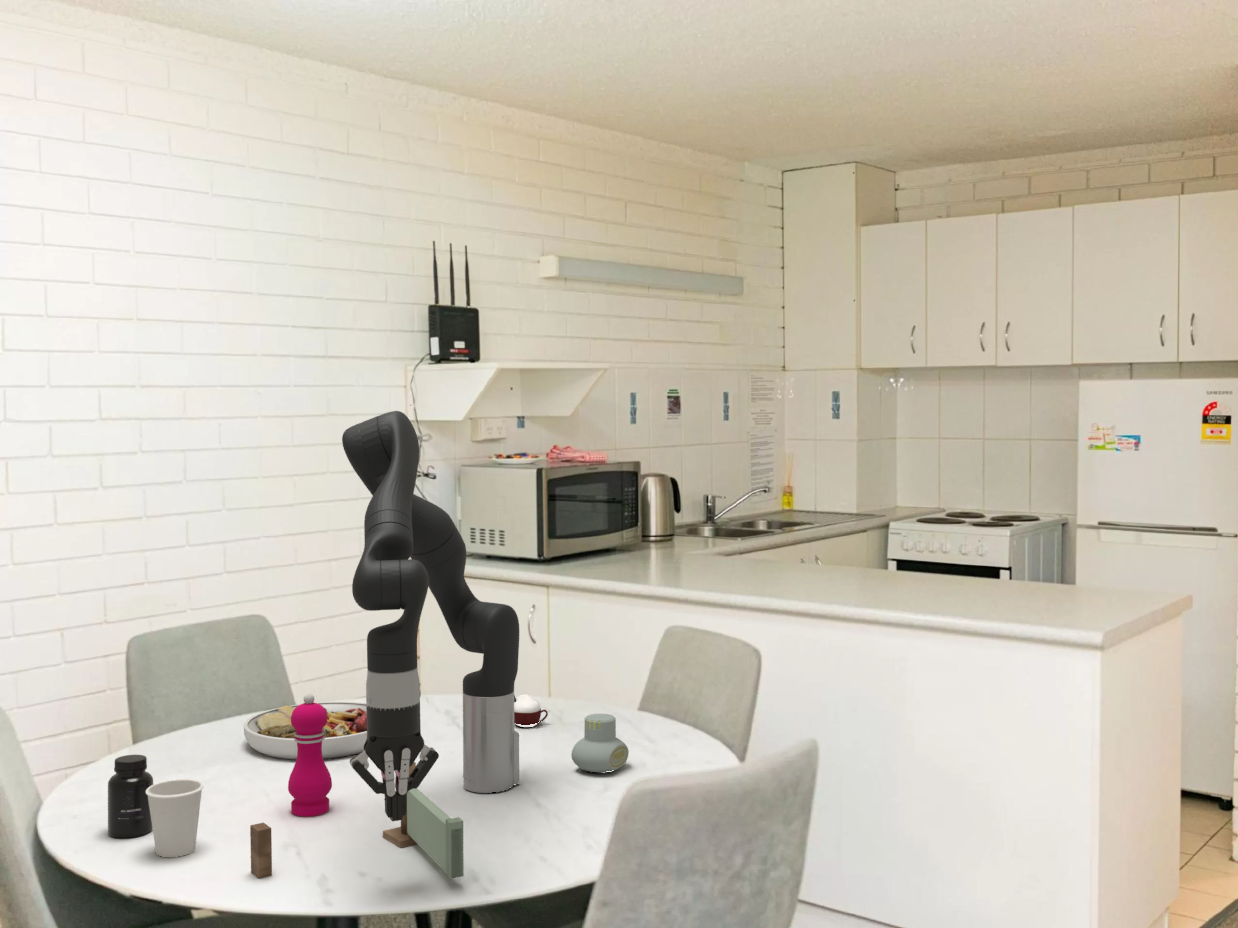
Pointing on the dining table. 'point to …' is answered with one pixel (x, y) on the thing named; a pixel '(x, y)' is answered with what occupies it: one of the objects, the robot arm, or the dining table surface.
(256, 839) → the wooden pieces
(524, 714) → the cocoa
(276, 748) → the bowl
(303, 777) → the pepper mill
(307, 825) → the dining table surface
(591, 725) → the air freshener
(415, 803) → the panel
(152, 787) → the dixie cup
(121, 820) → the supplement bottle
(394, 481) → the robot arm
